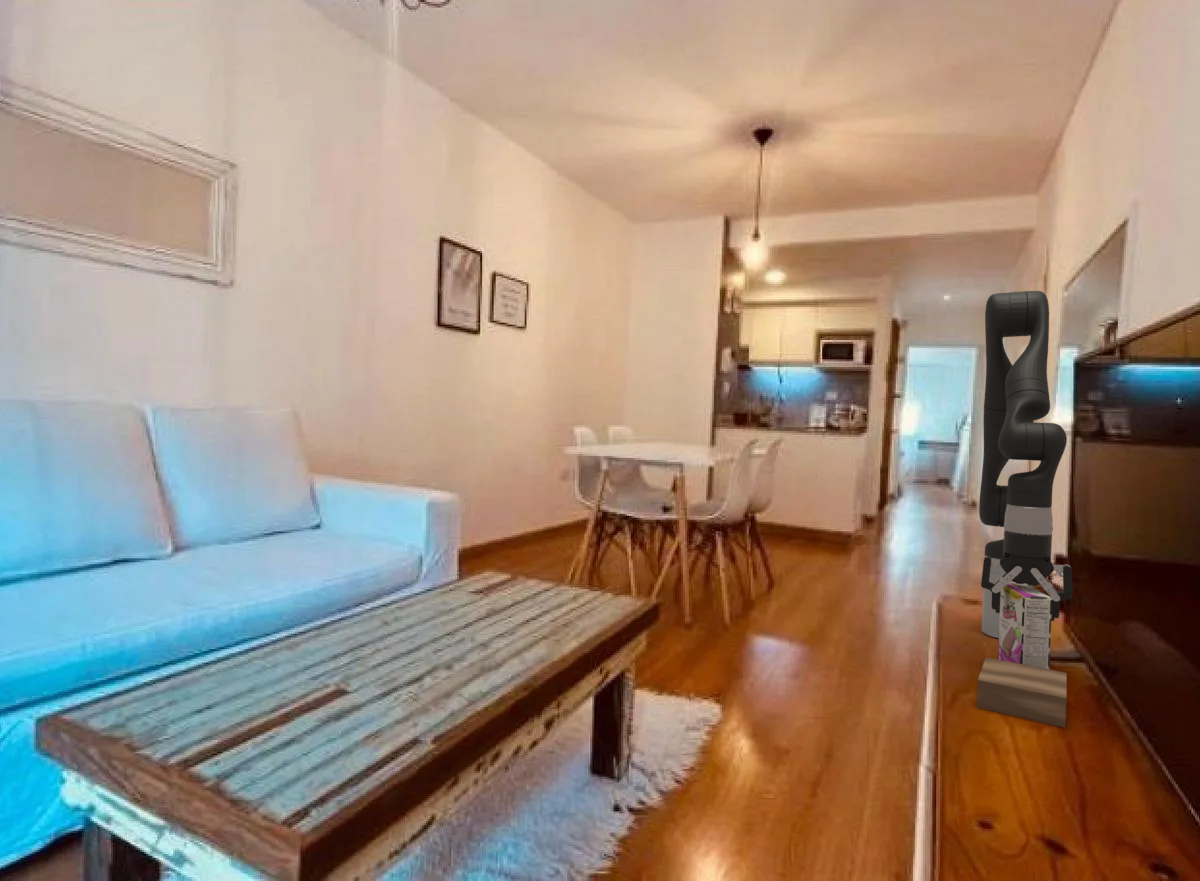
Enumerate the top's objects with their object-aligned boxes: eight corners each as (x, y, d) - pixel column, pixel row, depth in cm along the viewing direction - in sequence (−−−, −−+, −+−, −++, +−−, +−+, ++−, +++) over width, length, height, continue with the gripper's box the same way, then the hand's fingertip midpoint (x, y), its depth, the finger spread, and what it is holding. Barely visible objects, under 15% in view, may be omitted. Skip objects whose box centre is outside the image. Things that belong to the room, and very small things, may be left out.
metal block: (984, 684, 121) (985, 657, 121) (1065, 701, 114) (1066, 672, 114) (976, 709, 110) (977, 679, 110) (1065, 730, 103) (1066, 698, 103)
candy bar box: (995, 663, 131) (998, 580, 130) (1023, 665, 130) (1027, 582, 129) (1019, 685, 120) (1023, 595, 119) (1050, 688, 119) (1054, 597, 118)
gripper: (1073, 531, 123) (1069, 618, 124) (984, 523, 131) (981, 605, 131) (1076, 536, 117) (1072, 628, 118) (982, 528, 125) (979, 614, 125)
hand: (1024, 616), depth 124 cm, fingers open, 8 cm apart
